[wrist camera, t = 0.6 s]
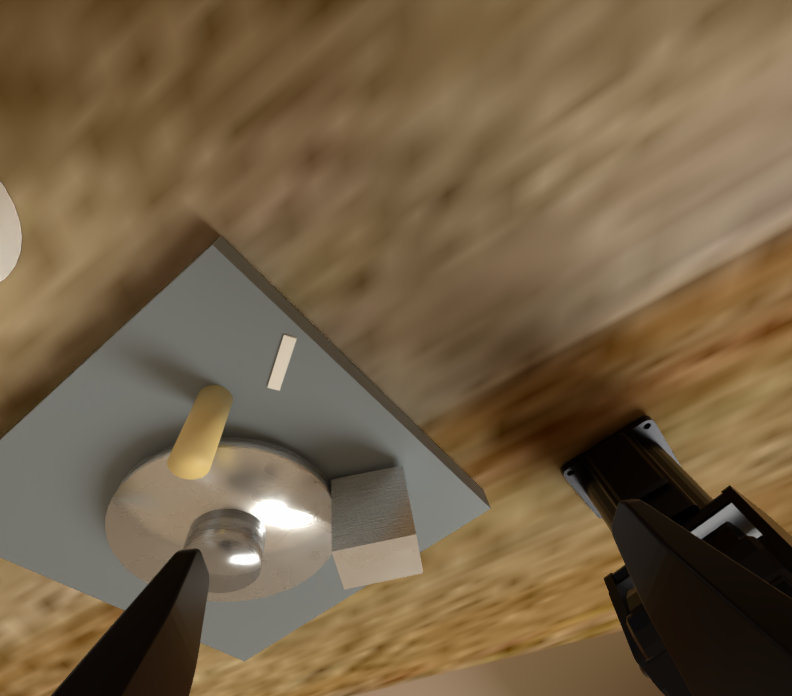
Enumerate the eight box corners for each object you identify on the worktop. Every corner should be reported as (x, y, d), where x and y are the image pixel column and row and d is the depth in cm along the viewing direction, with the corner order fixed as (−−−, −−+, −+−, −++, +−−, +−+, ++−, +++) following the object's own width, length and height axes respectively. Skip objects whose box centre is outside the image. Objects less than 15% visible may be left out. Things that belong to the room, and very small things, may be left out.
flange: (429, 489, 25) (447, 558, 21) (242, 611, 28) (228, 690, 25) (274, 352, 20) (260, 412, 16) (63, 523, 23) (8, 608, 19)
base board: (483, 490, 29) (517, 574, 24) (247, 639, 33) (232, 738, 28) (220, 235, 19) (178, 283, 14) (-64, 497, 23) (-177, 608, 18)
